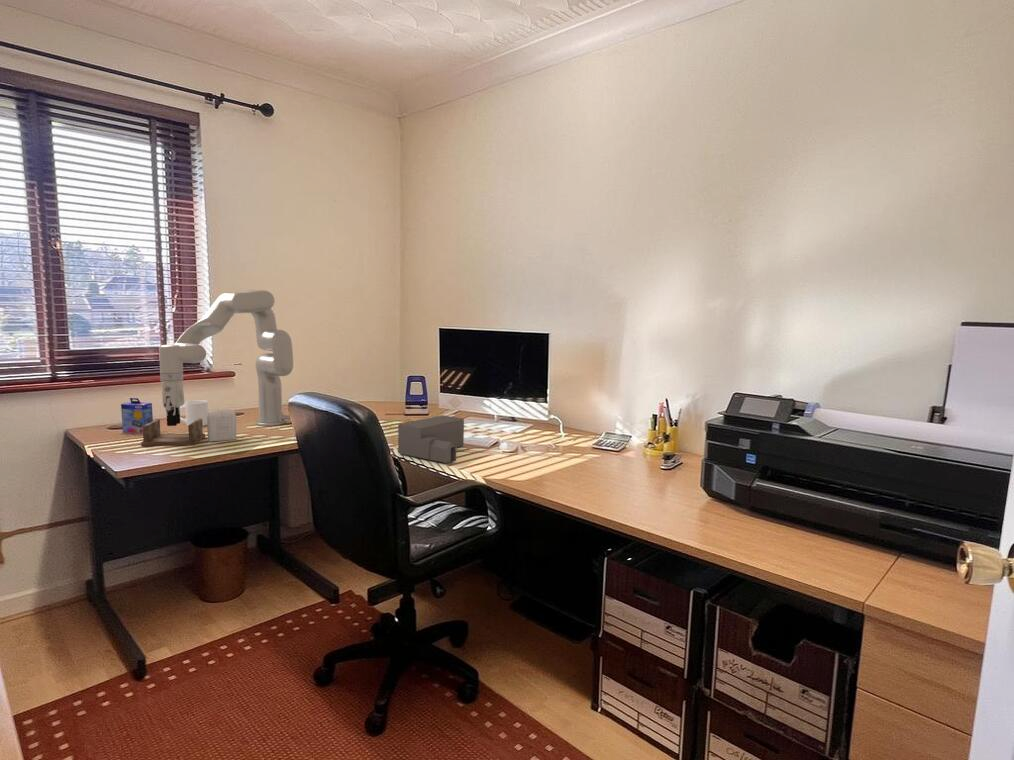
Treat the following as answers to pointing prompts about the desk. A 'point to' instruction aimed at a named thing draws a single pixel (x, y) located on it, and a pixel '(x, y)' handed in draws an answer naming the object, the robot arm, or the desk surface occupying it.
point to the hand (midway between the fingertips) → (173, 424)
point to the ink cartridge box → (135, 416)
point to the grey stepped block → (432, 438)
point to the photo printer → (221, 425)
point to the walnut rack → (171, 435)
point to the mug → (195, 411)
